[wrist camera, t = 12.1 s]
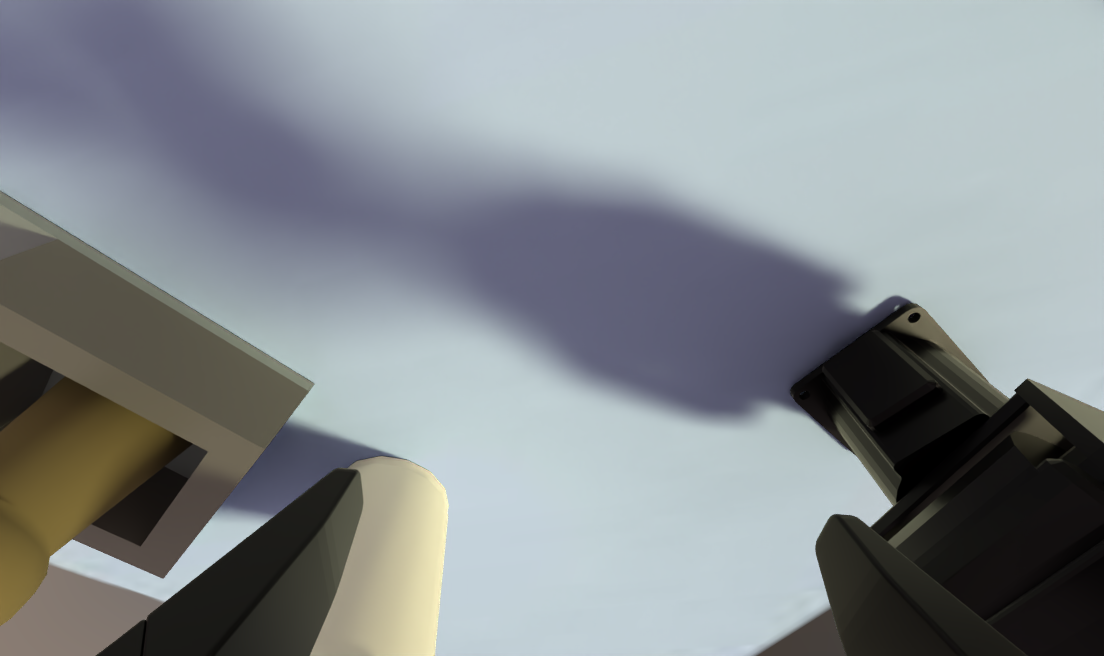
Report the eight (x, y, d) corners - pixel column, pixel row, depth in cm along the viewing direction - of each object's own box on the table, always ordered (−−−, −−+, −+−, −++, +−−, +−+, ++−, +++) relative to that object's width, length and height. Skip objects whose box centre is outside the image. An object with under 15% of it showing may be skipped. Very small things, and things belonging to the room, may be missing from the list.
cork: (69, 404, 24) (-254, 632, 15) (100, 319, 22) (-261, 524, 12) (191, 462, 26) (-28, 700, 16) (232, 388, 24) (3, 617, 14)
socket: (314, 384, 24) (264, 449, 20) (189, 543, 30) (131, 619, 26) (-53, 159, 19) (-215, 185, 15) (-115, 402, 25) (-243, 468, 21)
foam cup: (401, 572, 31) (306, 870, 20) (275, 492, 28) (75, 792, 17) (510, 504, 28) (471, 812, 17) (381, 404, 25) (225, 701, 13)
